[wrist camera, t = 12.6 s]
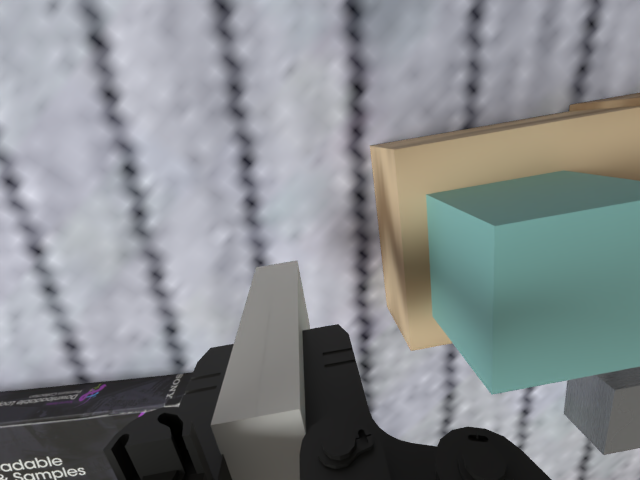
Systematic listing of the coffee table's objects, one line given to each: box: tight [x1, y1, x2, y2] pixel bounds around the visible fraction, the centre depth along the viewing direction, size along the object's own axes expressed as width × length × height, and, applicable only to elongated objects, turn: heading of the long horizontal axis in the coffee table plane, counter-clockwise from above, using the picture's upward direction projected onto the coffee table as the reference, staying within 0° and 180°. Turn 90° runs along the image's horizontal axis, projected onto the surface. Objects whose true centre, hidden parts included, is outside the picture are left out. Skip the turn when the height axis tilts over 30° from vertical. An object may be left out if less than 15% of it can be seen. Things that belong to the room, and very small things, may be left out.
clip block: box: [426, 170, 640, 394], centre depth 11 cm, size 6×6×4 cm
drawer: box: [370, 93, 640, 351], centre depth 14 cm, size 10×20×6 cm, turn 99°
